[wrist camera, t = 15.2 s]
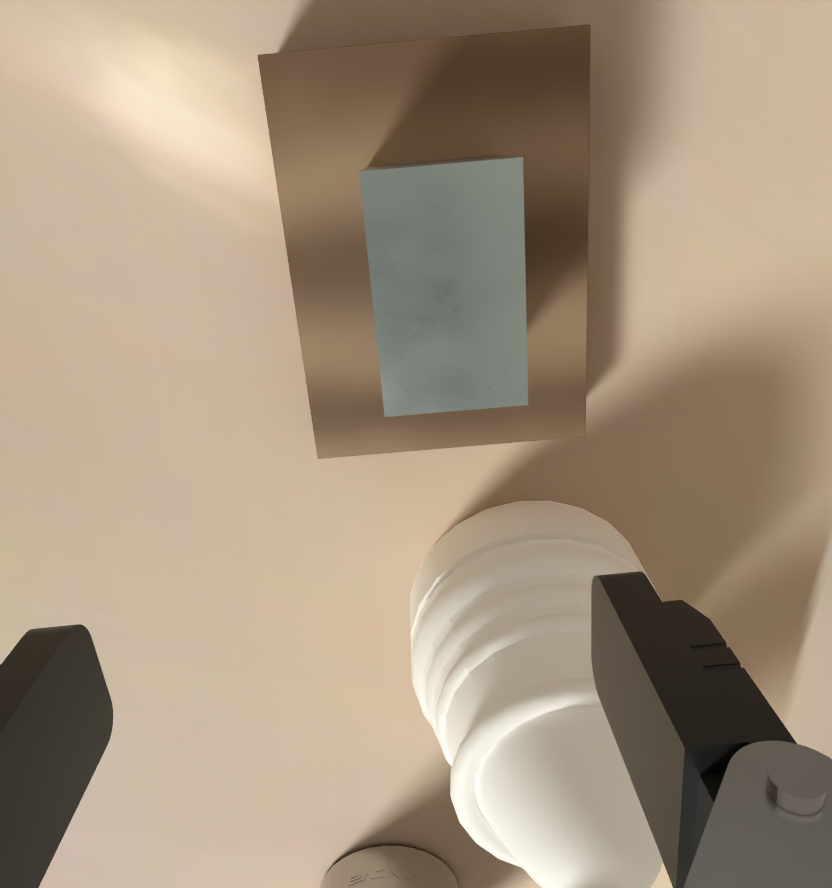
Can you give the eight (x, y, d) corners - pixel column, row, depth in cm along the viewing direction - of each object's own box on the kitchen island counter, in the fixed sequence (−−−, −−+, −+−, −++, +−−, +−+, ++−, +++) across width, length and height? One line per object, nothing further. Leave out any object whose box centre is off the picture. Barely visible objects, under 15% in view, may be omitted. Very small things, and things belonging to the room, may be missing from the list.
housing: (497, 154, 27) (522, 157, 22) (504, 357, 30) (528, 405, 25) (367, 166, 27) (358, 171, 22) (387, 367, 30) (384, 416, 25)
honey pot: (539, 730, 42) (629, 1109, 26) (362, 626, 39) (335, 980, 22) (694, 583, 38) (918, 914, 22) (512, 453, 35) (612, 726, 19)
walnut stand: (570, 413, 34) (585, 436, 32) (324, 433, 35) (317, 458, 32) (571, 36, 28) (590, 24, 25) (271, 64, 28) (257, 54, 26)
